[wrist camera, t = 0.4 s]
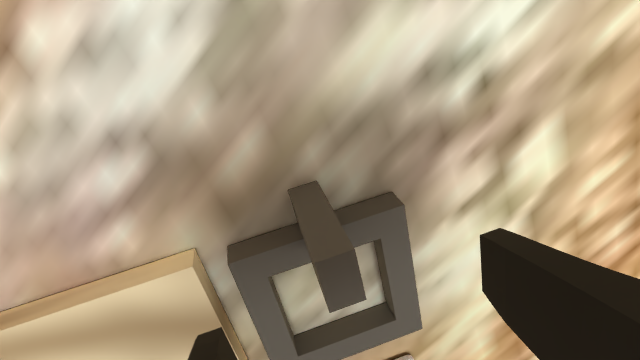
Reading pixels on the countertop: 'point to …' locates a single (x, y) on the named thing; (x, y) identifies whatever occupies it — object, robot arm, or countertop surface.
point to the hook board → (121, 317)
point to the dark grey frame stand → (330, 275)
